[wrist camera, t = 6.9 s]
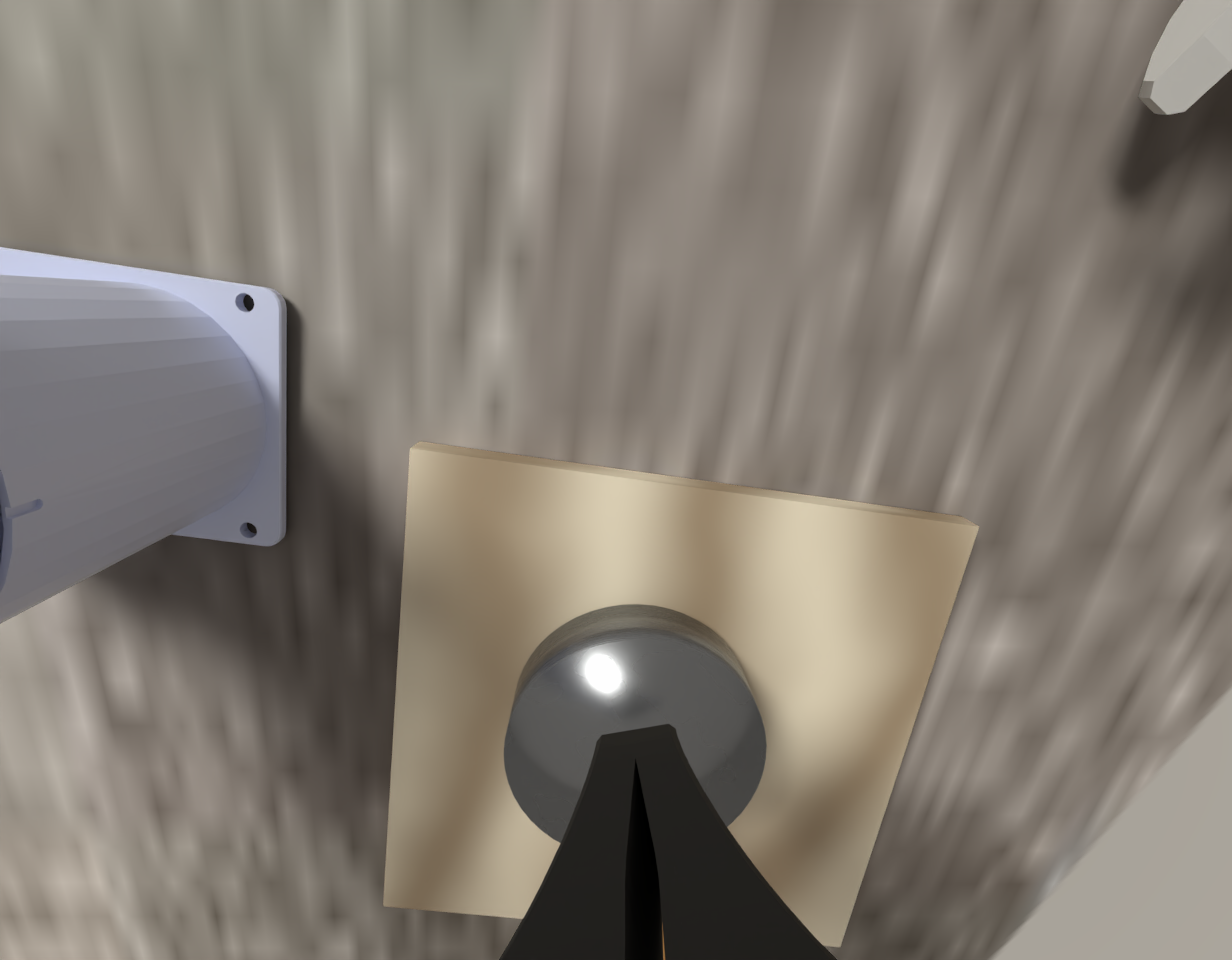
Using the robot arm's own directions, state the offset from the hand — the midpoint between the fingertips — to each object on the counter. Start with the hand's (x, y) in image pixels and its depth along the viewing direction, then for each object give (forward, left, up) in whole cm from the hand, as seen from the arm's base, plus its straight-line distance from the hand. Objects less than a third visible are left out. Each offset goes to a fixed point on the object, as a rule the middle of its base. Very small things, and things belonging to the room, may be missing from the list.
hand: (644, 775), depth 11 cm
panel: (+2, -6, -10) cm, 12 cm away
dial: (+2, -7, -9) cm, 11 cm away
